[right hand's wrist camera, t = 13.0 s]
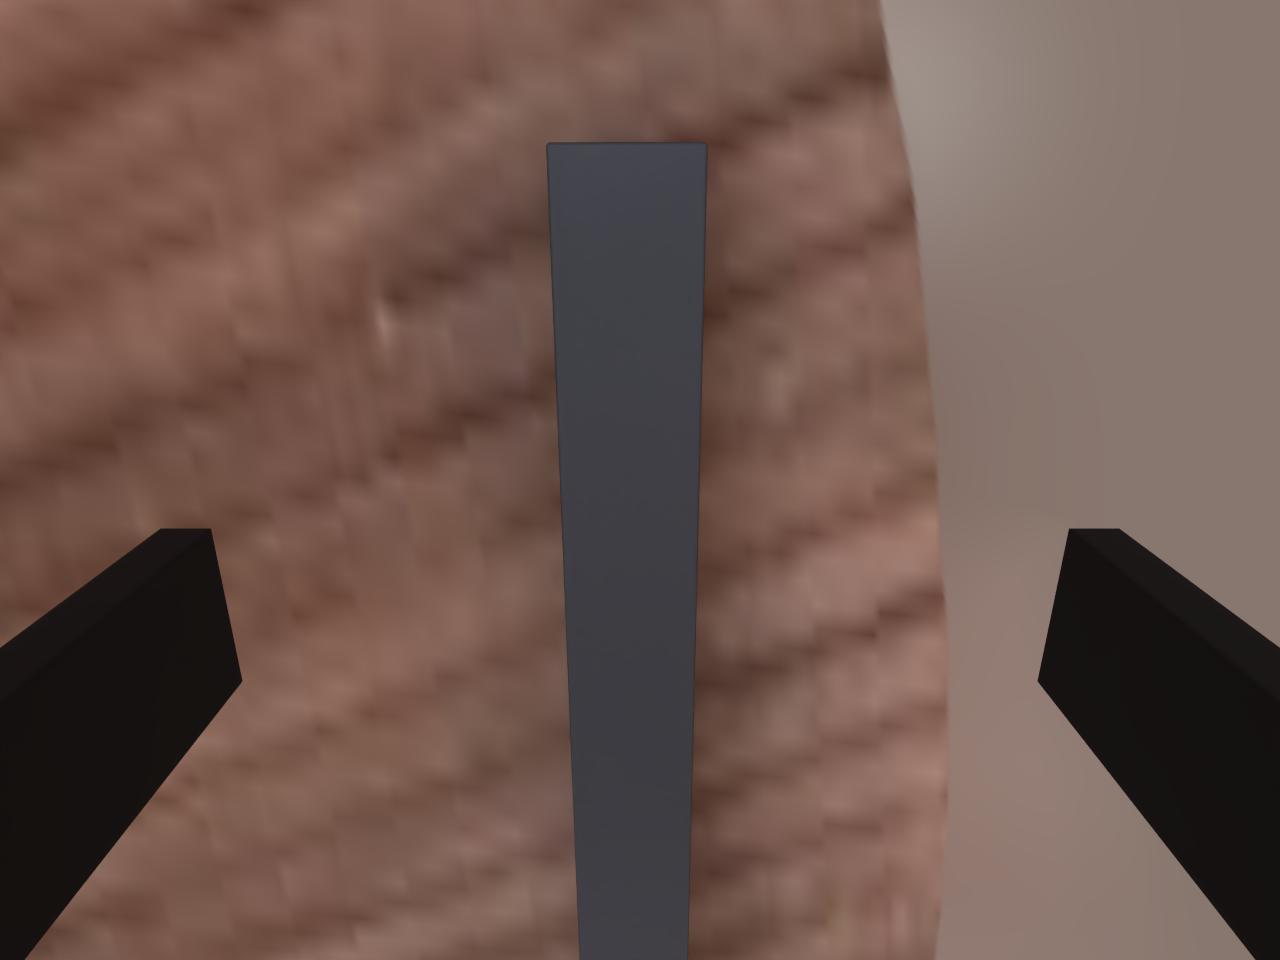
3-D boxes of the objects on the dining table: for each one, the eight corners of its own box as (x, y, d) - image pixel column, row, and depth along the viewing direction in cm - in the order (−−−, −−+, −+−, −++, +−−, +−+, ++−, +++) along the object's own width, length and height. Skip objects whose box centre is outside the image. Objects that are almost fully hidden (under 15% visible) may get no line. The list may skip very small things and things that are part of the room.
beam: (569, 150, 32) (545, 142, 24) (690, 149, 32) (708, 141, 24) (599, 1091, 51) (591, 1261, 43) (674, 1090, 51) (680, 1260, 43)
